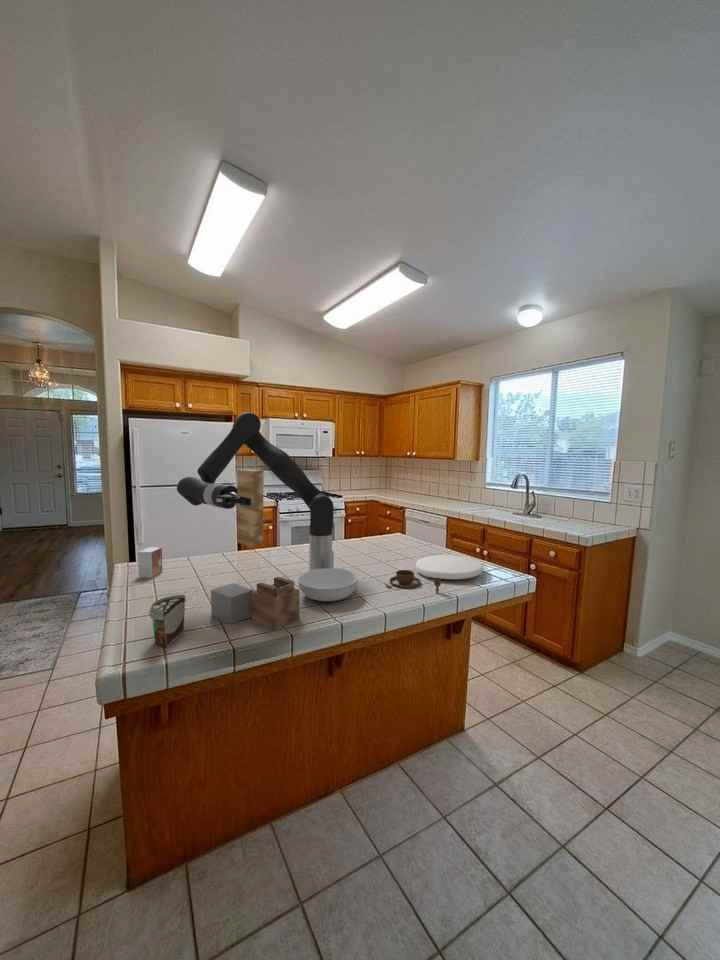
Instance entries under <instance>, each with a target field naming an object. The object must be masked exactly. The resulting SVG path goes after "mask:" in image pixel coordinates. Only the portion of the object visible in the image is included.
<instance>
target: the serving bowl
mask: <svg viewBox="0 0 720 960" xmlns="http://www.w3.org/2000/svg"><path fill="white" fill-rule="evenodd" d="M358 579H359V577H358V575H357V574H356V573H355V572H353V571H350V570H347V569H343V568H324V569H316V570H311V571H309V570H308V571H306V572H303V573H302V574H300V575H299V576H298V578H297V583H298V587H299V590H300V591H301V592H302V594H304V595H305V597H308V599H312V600H315V601H319V602H334V601H335V602H336V601H340V600H343V599H345V598H348V597H349V596H350V595H352V594H353V593H354V591H355V590H356V588H357V585H358V581H359V580H358Z"/></svg>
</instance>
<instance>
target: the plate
mask: <svg viewBox="0 0 720 960" xmlns="http://www.w3.org/2000/svg"><path fill="white" fill-rule="evenodd" d="M415 570H416V572H417V573H419V574H420V575H422V576H424V577H427V578H432V579H434V578H441V580H442V579H443V580H466V579H471V578H475V577H477V576H480V575H481V574H482V573H483V571H484V565H483V562H481V561H480V560H478V559H475V558H473V557H468V556H461V555H450V554H438V555H437V554H436V555H430V556H425V557H423V558H420V559H418V560H417V561H415Z"/></svg>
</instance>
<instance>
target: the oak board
mask: <svg viewBox="0 0 720 960" xmlns="http://www.w3.org/2000/svg"><path fill="white" fill-rule="evenodd" d="M236 470H237V474H236V475H237V482H236V484H237V485H236V488H237V495H238V496H241V497H246V498H250V499H251V505H250V506H246V505H236V509H237V510H236V511H237V512H236V513H237V514H236V518H237V519H236V520H237V521H236V528H237V529H236V543H238V544H242V545H246V546H249V547H256V546H259V545H260V546H261V545H264V478H265V477H264V473H265V472H264V470H260V469H251V468H250V469H248V468H247V469H245V468H244V469H236Z"/></svg>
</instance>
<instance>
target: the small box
mask: <svg viewBox="0 0 720 960" xmlns="http://www.w3.org/2000/svg"><path fill="white" fill-rule="evenodd" d="M137 561H138V563H137V564H138V567H137V568H138V571H137V572H138V578H139V579H144V578H145V579H152V578H154V577H156V576H157V575H161V574H162V573H163V547H161V546H148V547H147V548H144V549H143V550H140V551H138V552H137Z"/></svg>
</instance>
